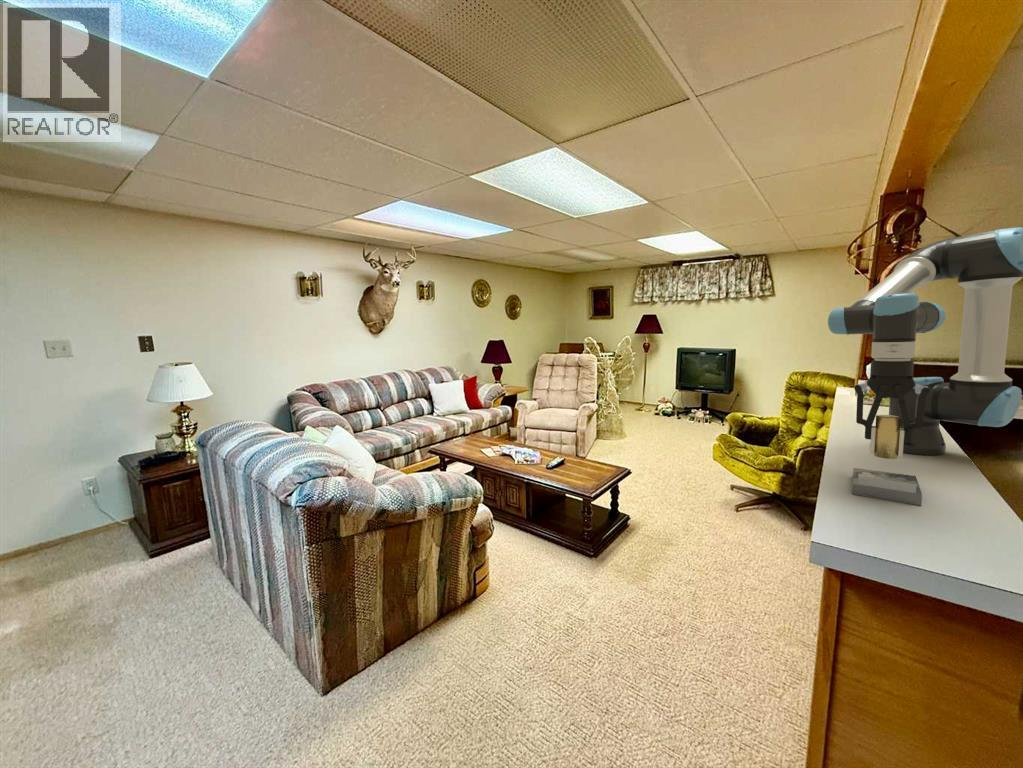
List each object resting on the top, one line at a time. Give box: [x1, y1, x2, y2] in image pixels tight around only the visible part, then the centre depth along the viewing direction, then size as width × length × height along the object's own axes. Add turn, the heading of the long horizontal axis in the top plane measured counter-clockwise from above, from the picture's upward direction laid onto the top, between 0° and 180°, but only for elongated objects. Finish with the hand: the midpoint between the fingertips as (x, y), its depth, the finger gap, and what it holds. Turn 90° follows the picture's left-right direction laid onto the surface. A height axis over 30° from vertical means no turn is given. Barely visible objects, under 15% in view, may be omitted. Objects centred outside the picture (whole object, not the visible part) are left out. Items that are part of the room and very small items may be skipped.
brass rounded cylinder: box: [873, 414, 901, 460], centre depth 98 cm, size 4×4×10 cm
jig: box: [851, 467, 923, 506], centre depth 100 cm, size 14×12×5 cm
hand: (885, 453), depth 99 cm, fingers closed on brass rounded cylinder, 4 cm apart
